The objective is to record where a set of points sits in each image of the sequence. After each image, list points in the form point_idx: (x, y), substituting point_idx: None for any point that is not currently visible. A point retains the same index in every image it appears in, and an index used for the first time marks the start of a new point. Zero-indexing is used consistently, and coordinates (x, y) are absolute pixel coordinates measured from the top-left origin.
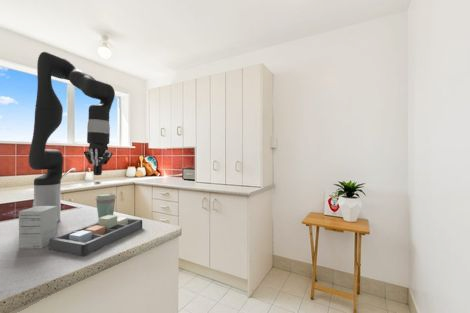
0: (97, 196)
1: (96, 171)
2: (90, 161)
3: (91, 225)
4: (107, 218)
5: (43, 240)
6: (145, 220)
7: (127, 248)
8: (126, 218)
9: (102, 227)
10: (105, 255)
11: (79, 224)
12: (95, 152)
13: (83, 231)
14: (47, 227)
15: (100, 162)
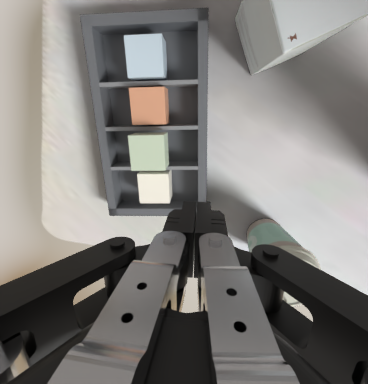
0: (303, 257)
1: (182, 211)
2: (268, 261)
3: (198, 136)
4: (134, 140)
5: (238, 15)
6: None
7: (47, 97)
8: (139, 199)
9: (131, 115)
10: (57, 49)
11: (299, 180)
12: (127, 356)
13: (149, 69)
14: (248, 19)
15: (112, 250)
